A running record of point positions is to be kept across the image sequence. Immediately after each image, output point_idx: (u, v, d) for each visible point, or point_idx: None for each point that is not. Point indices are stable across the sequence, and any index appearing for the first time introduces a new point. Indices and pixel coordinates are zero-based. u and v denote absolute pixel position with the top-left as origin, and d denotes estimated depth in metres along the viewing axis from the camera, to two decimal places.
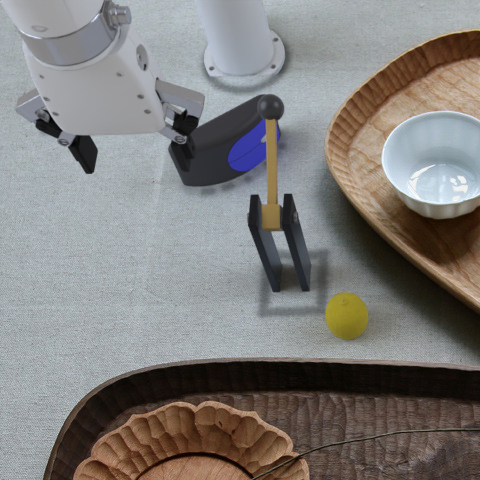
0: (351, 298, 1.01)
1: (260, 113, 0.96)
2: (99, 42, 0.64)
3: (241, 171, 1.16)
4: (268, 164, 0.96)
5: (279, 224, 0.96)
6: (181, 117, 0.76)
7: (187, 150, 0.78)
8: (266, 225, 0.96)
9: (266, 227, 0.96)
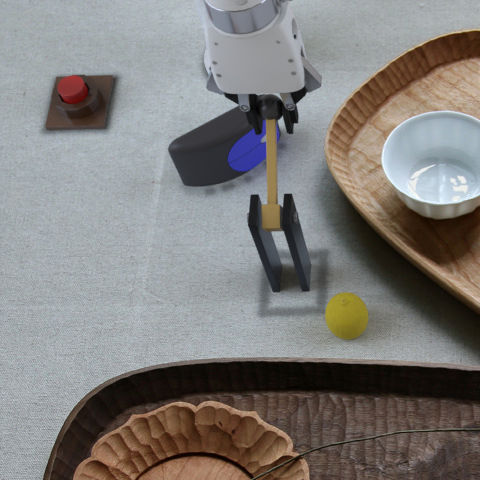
0: (351, 298, 1.01)
1: (260, 113, 0.96)
2: (268, 15, 0.81)
3: (241, 171, 1.16)
4: (268, 164, 0.96)
5: (279, 224, 0.96)
6: None
7: (293, 116, 0.97)
8: (266, 225, 0.96)
9: (266, 227, 0.96)
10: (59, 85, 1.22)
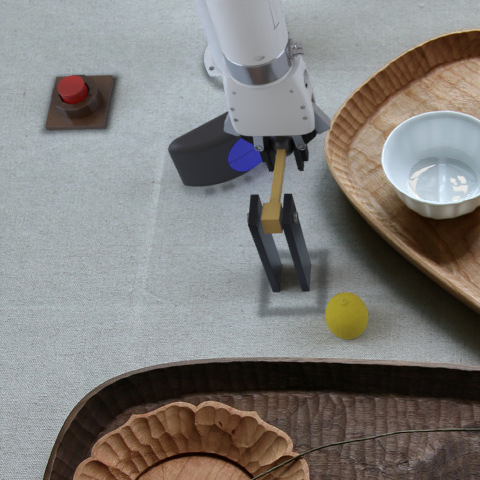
0: (351, 298, 1.01)
1: (272, 144, 1.03)
2: (283, 68, 0.89)
3: (241, 171, 1.16)
4: (274, 178, 1.00)
5: (278, 216, 0.96)
6: None
7: (304, 154, 1.04)
8: (265, 217, 0.96)
9: (265, 219, 0.95)
10: (59, 85, 1.22)
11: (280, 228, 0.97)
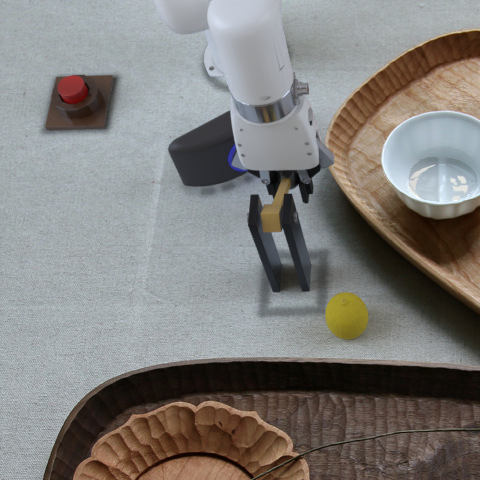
0: (351, 298, 1.01)
1: (278, 174, 1.06)
2: (288, 107, 0.93)
3: (241, 171, 1.16)
4: (277, 193, 1.02)
5: (278, 212, 0.96)
6: None
7: (309, 188, 1.08)
8: (265, 212, 0.96)
9: (265, 213, 0.95)
10: (59, 85, 1.22)
11: (279, 225, 0.96)
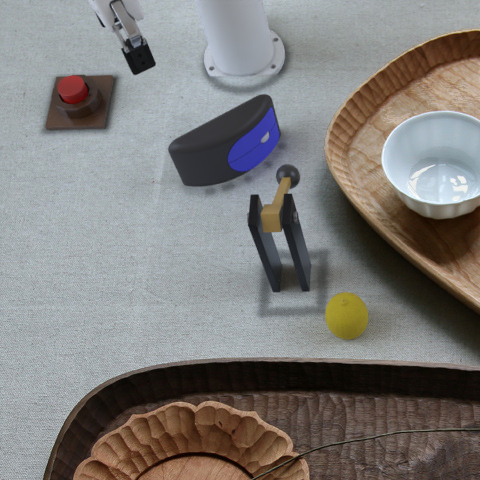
0: (351, 298, 1.01)
1: (278, 173, 1.06)
2: None
3: (241, 171, 1.16)
4: (277, 193, 1.02)
5: (278, 212, 0.96)
6: None
7: (134, 60, 1.00)
8: (265, 212, 0.96)
9: (265, 213, 0.95)
10: (59, 85, 1.22)
11: (279, 225, 0.96)
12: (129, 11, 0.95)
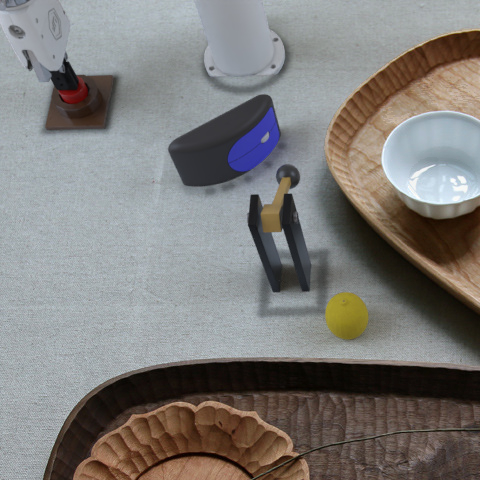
0: (351, 298, 1.01)
1: (278, 173, 1.06)
2: None
3: (241, 171, 1.16)
4: (277, 193, 1.02)
5: (278, 212, 0.96)
6: None
7: None
8: (265, 212, 0.96)
9: (265, 213, 0.95)
10: None
11: (279, 225, 0.96)
12: None
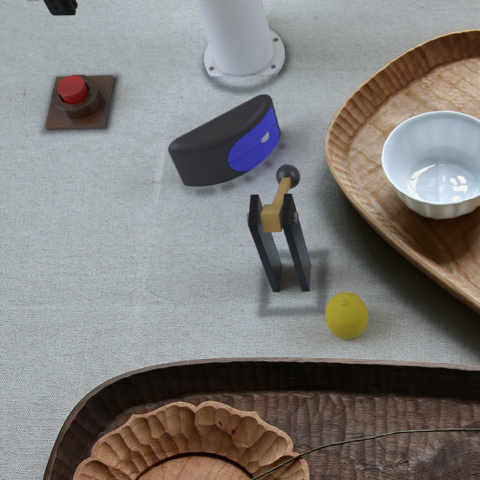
0: (351, 298, 1.01)
1: (278, 173, 1.06)
2: None
3: (241, 171, 1.16)
4: (277, 193, 1.02)
5: (278, 212, 0.96)
6: None
7: None
8: (265, 212, 0.96)
9: (265, 213, 0.95)
10: (59, 85, 1.22)
11: (279, 225, 0.96)
12: None
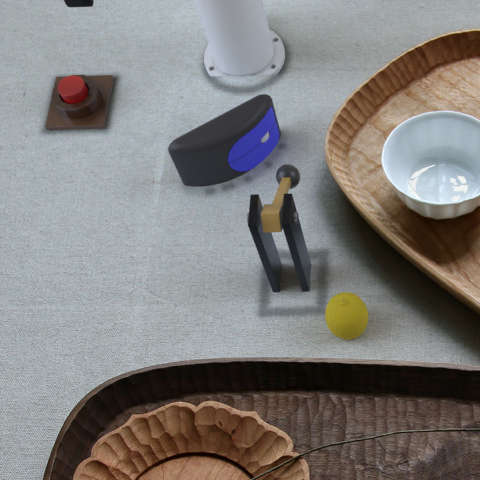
0: (351, 298, 1.01)
1: (278, 173, 1.06)
2: None
3: (241, 171, 1.16)
4: (277, 193, 1.02)
5: (278, 212, 0.96)
6: None
7: None
8: (265, 212, 0.96)
9: (265, 213, 0.95)
10: (59, 85, 1.22)
11: (279, 225, 0.96)
12: None
